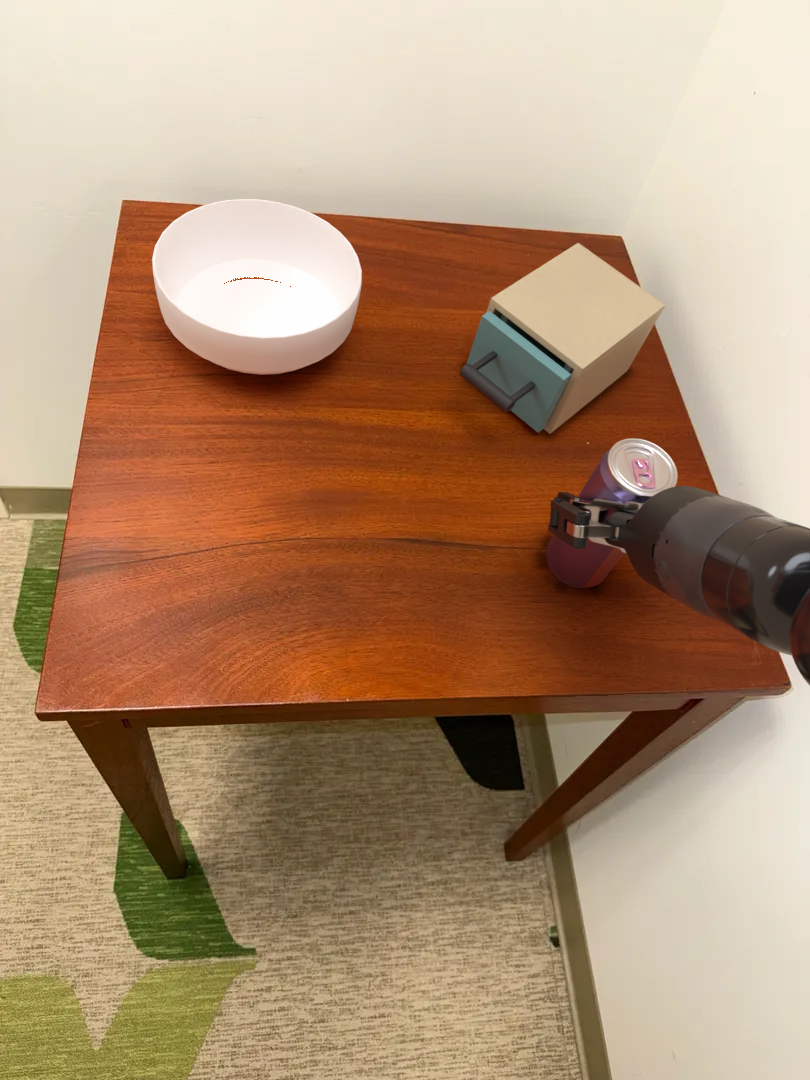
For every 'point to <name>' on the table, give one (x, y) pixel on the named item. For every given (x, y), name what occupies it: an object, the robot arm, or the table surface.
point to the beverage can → (618, 476)
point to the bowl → (256, 285)
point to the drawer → (515, 371)
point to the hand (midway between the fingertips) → (601, 504)
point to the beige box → (581, 321)
